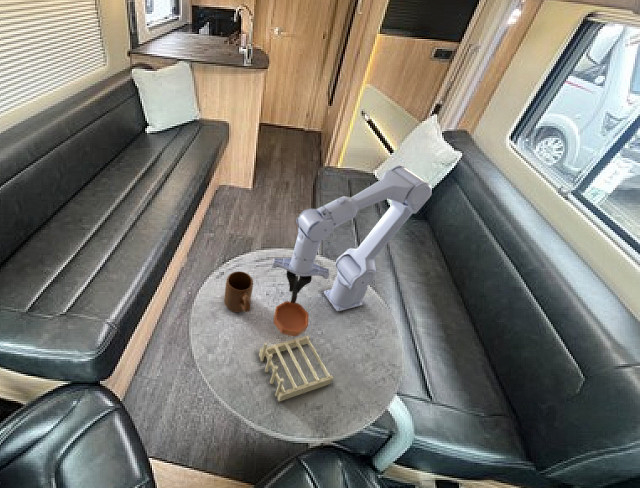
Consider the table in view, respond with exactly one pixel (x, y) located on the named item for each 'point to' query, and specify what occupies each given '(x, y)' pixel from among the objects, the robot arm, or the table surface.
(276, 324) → the pan
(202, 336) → the table surface
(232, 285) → the mug
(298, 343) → the rack
